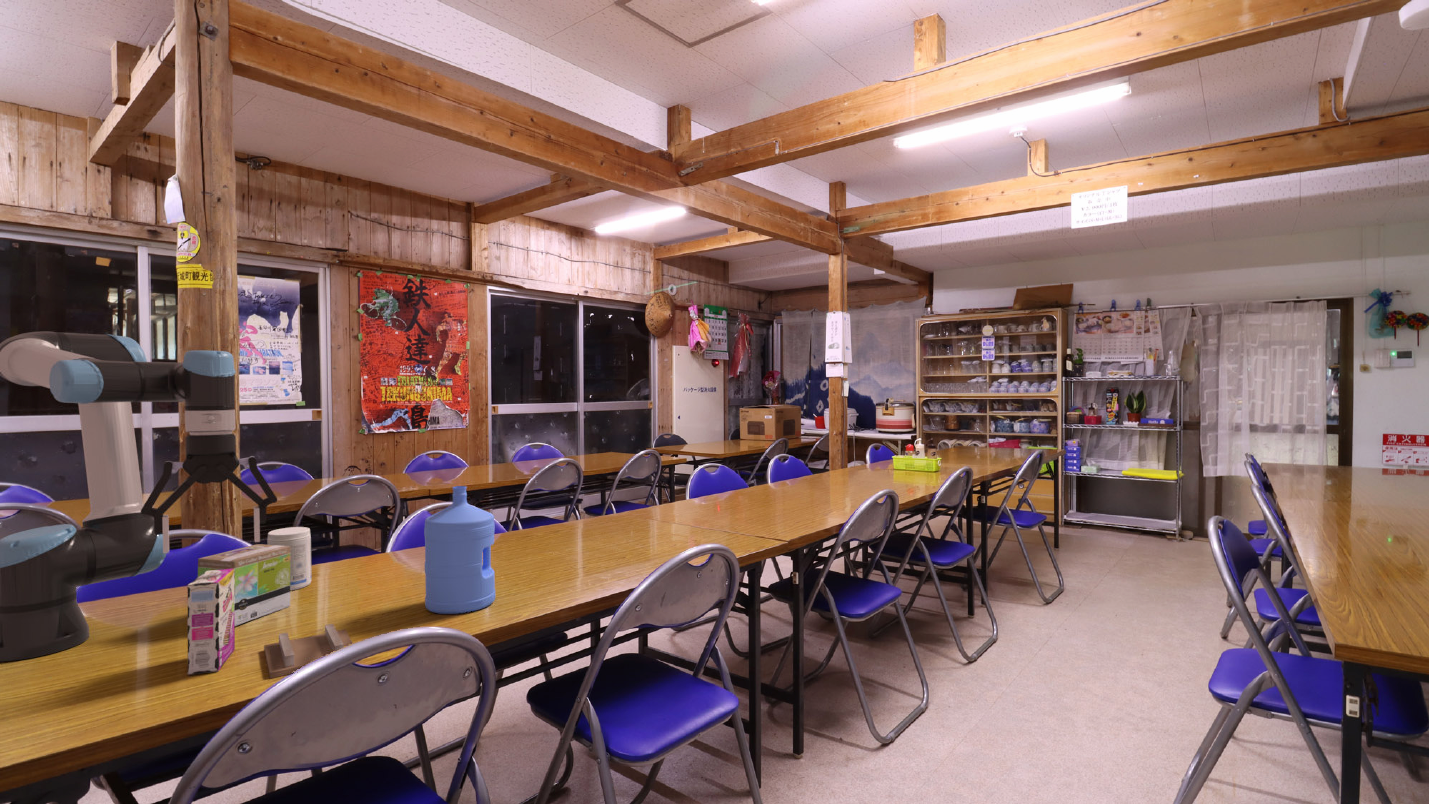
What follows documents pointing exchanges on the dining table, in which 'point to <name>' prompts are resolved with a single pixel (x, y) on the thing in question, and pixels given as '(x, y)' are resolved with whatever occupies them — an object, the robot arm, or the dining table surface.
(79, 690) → the dining table surface
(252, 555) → the tea box
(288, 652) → the brown flat ridged block
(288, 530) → the supplement tub
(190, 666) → the candy bar box
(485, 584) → the water jug
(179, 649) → the dining table surface
